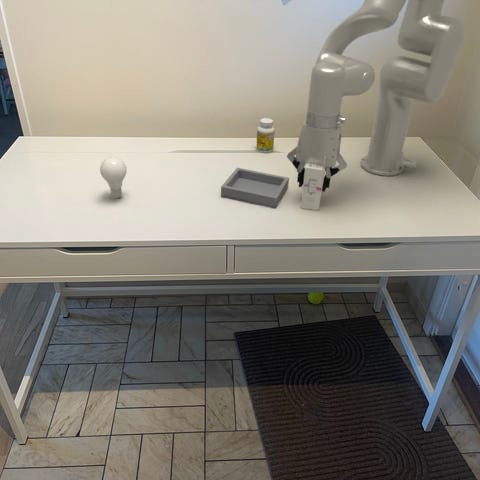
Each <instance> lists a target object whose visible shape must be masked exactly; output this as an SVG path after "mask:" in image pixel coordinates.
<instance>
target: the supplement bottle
mask: <svg viewBox="0 0 480 480" xmlns="http://www.w3.org/2000/svg"><path fill="white" fill-rule="evenodd" d="M273 123H274V120H273V119H272V118H268V117H267V118H266V117H263V118H261V119H260V120H259V125H258V127H257V129H256V151H257V152H259V153H264V154H268V153H271V152H273V151H274V147H275V146H274V143H275V131H276V130H275V127H274V126H273V125H274V124H273Z"/></svg>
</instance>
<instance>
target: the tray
mask: <svg viewBox="0 0 480 480" xmlns="http://www.w3.org/2000/svg"><path fill="white" fill-rule="evenodd" d="M289 182H290V177H287V176H282V175H276V174H271V173H266V172H261V171H257V170H250V169H245V168H242V167H237V168H235V169H234V171H233V172H232V173H231V174H230V175H229V177H228V178H227V179H226V180H225V182H224V183H223V184H222V185H221V186H220V197H221V198H224V199H229V200H234V201H239V202H243V203H249V204H252V205H258V206H262V207H267V208H269V209H270V208H271V209H277V207H278V205H279V204H280V202H281V201H282V199H283V197H284V195H285V194H286V192H287V190H288V189H289Z"/></svg>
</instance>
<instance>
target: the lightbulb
mask: <svg viewBox="0 0 480 480" xmlns="http://www.w3.org/2000/svg"><path fill="white" fill-rule="evenodd" d="M127 171H128V169H127V166H126V164H125V162H124V161H123V160H122V159H120V158H119V157H116V156H110V157H107V158H105V159H104V160H103V161H102V162H101V163H100V167H99V172H100V175H101V177H102V178H103V179H104V180H105V181H106V183H107V185H108V186H109V187H108V188H110V195H111V197H112V198H114V199H118V198H121V197H122V196H123V192H122V186H123V181H124V179H125V178H126V175H127Z"/></svg>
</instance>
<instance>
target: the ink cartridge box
mask: <svg viewBox="0 0 480 480" xmlns="http://www.w3.org/2000/svg"><path fill="white" fill-rule="evenodd" d="M325 160H326V156H325V158H324V166H320V165H315V164H310V163H306V164H305V166H304V168H305V173H304V182H303V185H302V193H301V200H300V206H299V207H300V209H303V210H304V209H305V210H312V211H320V206H321V198H322V193H323V191H322V187H323V180H324V177H325V175H326V173H325Z"/></svg>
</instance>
